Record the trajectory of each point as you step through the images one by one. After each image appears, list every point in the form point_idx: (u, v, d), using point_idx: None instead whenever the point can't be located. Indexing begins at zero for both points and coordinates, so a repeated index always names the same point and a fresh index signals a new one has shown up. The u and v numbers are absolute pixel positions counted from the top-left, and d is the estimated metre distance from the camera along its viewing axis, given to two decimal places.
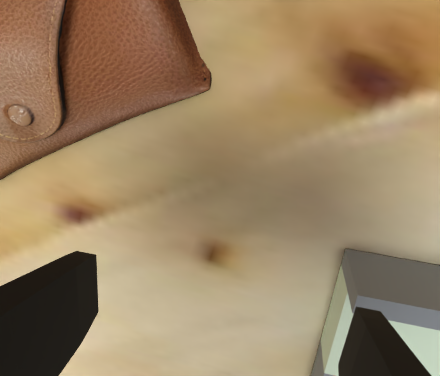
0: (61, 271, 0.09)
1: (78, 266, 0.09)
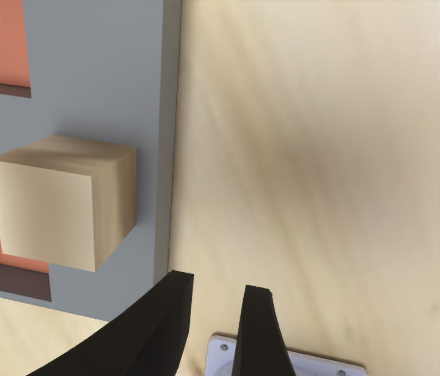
0: (173, 294, 0.08)
1: (185, 288, 0.09)
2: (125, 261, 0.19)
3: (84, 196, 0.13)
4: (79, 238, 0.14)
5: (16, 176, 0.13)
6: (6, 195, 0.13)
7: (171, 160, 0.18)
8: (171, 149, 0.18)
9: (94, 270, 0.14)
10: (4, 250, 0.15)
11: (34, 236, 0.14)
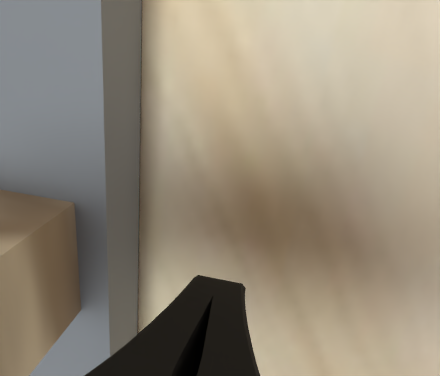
0: (203, 300, 0.08)
1: (213, 294, 0.09)
2: (70, 356, 0.13)
3: None
4: None
5: None
6: None
7: (135, 212, 0.13)
8: (134, 197, 0.13)
9: None
10: None
11: None
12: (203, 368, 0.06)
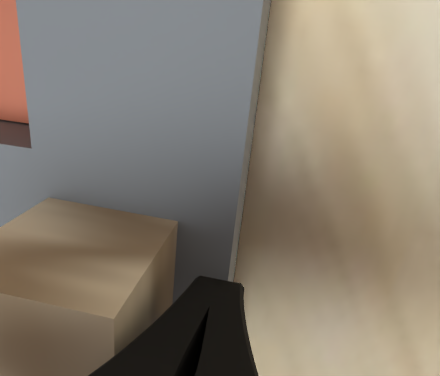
0: (204, 301, 0.08)
1: (215, 294, 0.09)
2: None
3: (100, 348, 0.07)
4: None
5: None
6: None
7: (239, 231, 0.12)
8: (241, 216, 0.12)
9: None
10: None
11: None
12: (201, 368, 0.06)
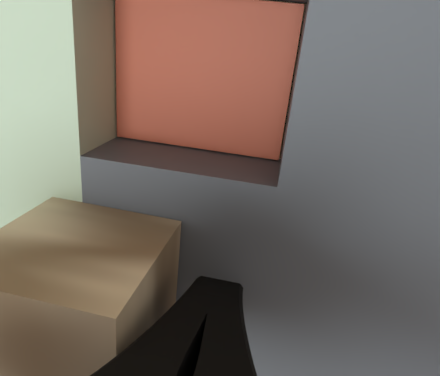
0: (206, 301, 0.08)
1: (216, 294, 0.09)
2: None
3: (102, 348, 0.07)
4: None
5: None
6: None
7: None
8: None
9: None
10: None
11: None
12: (200, 367, 0.06)
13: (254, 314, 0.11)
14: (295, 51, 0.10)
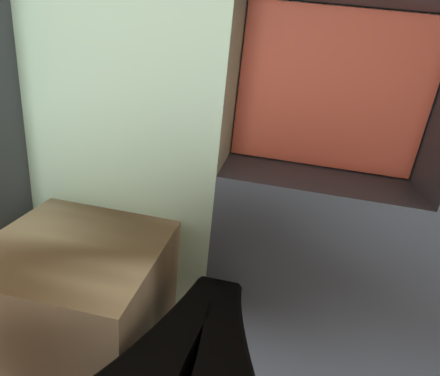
0: (207, 301, 0.08)
1: (218, 295, 0.09)
2: None
3: (104, 349, 0.07)
4: None
5: None
6: None
7: None
8: None
9: None
10: None
11: None
12: (198, 367, 0.06)
13: (387, 341, 0.10)
14: None
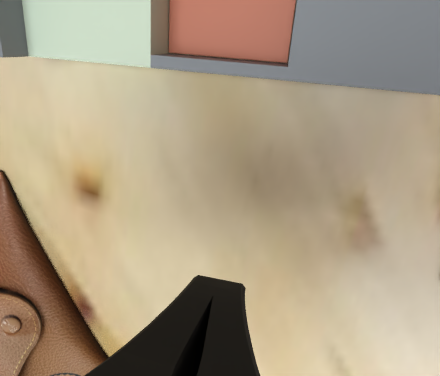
0: (202, 300, 0.08)
1: (213, 294, 0.09)
2: None
3: None
4: None
5: None
6: None
7: None
8: None
9: None
10: None
11: None
12: (203, 368, 0.06)
13: None
14: None
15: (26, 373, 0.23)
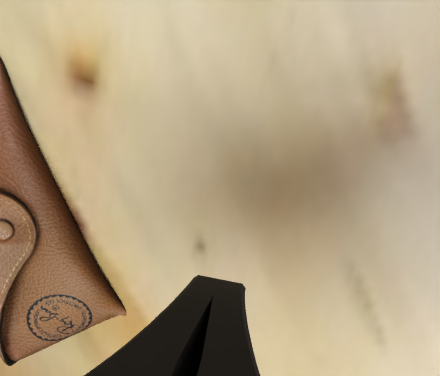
0: (202, 300, 0.08)
1: (213, 294, 0.09)
2: None
3: None
4: None
5: None
6: None
7: None
8: None
9: None
10: None
11: None
12: (203, 368, 0.06)
13: None
14: None
15: (17, 292, 0.21)
